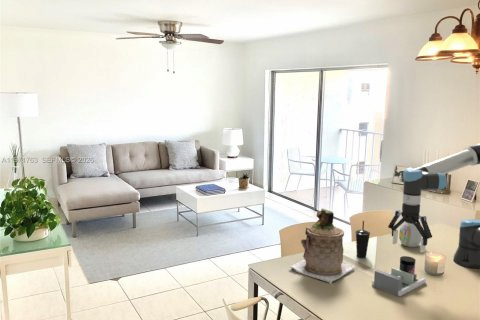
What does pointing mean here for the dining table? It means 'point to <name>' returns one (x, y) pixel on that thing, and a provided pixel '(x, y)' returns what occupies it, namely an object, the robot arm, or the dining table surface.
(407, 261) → the supplement container
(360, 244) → the drinking cup
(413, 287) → the pusher lane
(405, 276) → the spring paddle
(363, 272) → the dining table surface
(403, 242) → the decorative egg
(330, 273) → the cookie jar
